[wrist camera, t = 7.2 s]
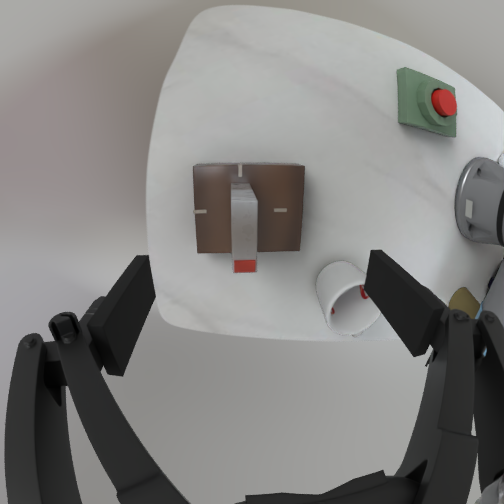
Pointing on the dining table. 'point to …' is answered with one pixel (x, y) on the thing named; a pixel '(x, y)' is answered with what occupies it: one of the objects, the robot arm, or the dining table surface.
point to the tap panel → (268, 196)
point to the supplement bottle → (501, 160)
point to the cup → (345, 299)
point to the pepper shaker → (465, 302)
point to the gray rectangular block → (244, 228)
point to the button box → (422, 103)
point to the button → (444, 102)
